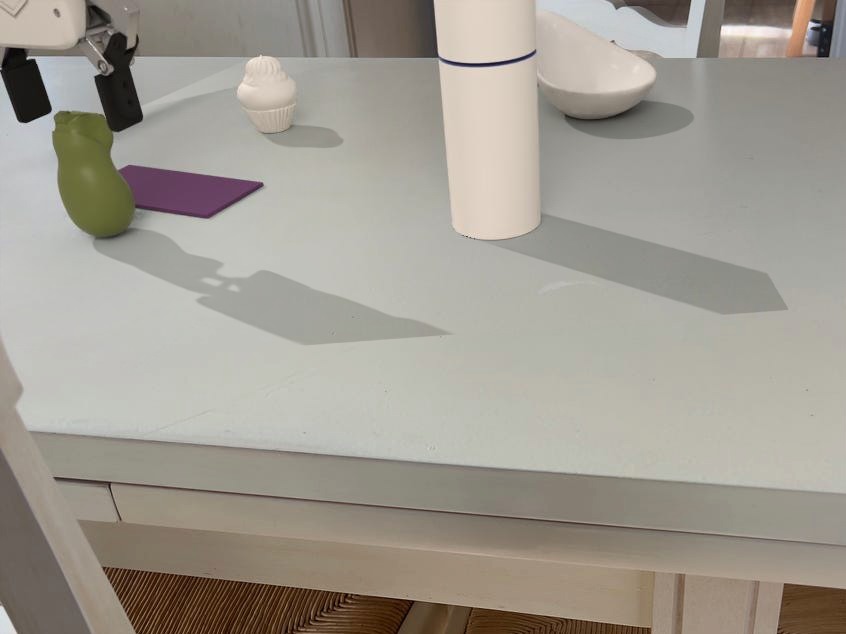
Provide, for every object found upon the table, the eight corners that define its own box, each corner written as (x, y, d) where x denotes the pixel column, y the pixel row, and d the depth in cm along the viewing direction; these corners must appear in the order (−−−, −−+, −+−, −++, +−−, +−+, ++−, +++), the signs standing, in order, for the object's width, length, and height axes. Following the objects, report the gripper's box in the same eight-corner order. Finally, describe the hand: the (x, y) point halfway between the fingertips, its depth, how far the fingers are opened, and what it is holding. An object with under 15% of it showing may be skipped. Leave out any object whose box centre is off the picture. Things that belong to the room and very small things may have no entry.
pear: (62, 242, 84) (19, 116, 78) (106, 218, 88) (69, 96, 81) (113, 250, 82) (74, 122, 76) (156, 225, 86) (122, 101, 79)
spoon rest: (678, 113, 100) (683, 33, 95) (577, 138, 96) (577, 56, 91) (552, 64, 116) (551, -6, 112) (461, 84, 112) (456, 12, 108)
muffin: (289, 115, 108) (277, 43, 103) (314, 128, 103) (302, 54, 99) (235, 128, 105) (219, 55, 101) (257, 142, 101) (243, 67, 97)
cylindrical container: (452, 242, 79) (420, -146, 63) (451, 208, 84) (421, -157, 68) (544, 236, 79) (535, -155, 63) (537, 202, 84) (527, -166, 68)
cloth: (69, 197, 92) (68, 194, 92) (129, 167, 98) (129, 164, 98) (207, 218, 86) (206, 215, 86) (263, 185, 92) (263, 182, 91)
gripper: (-135, -130, 69) (-34, 129, 80) (47, -139, 62) (131, 146, 73) (-47, -146, 74) (37, 101, 85) (131, -155, 67) (197, 114, 78)
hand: (80, 122), depth 79 cm, fingers open, 9 cm apart
